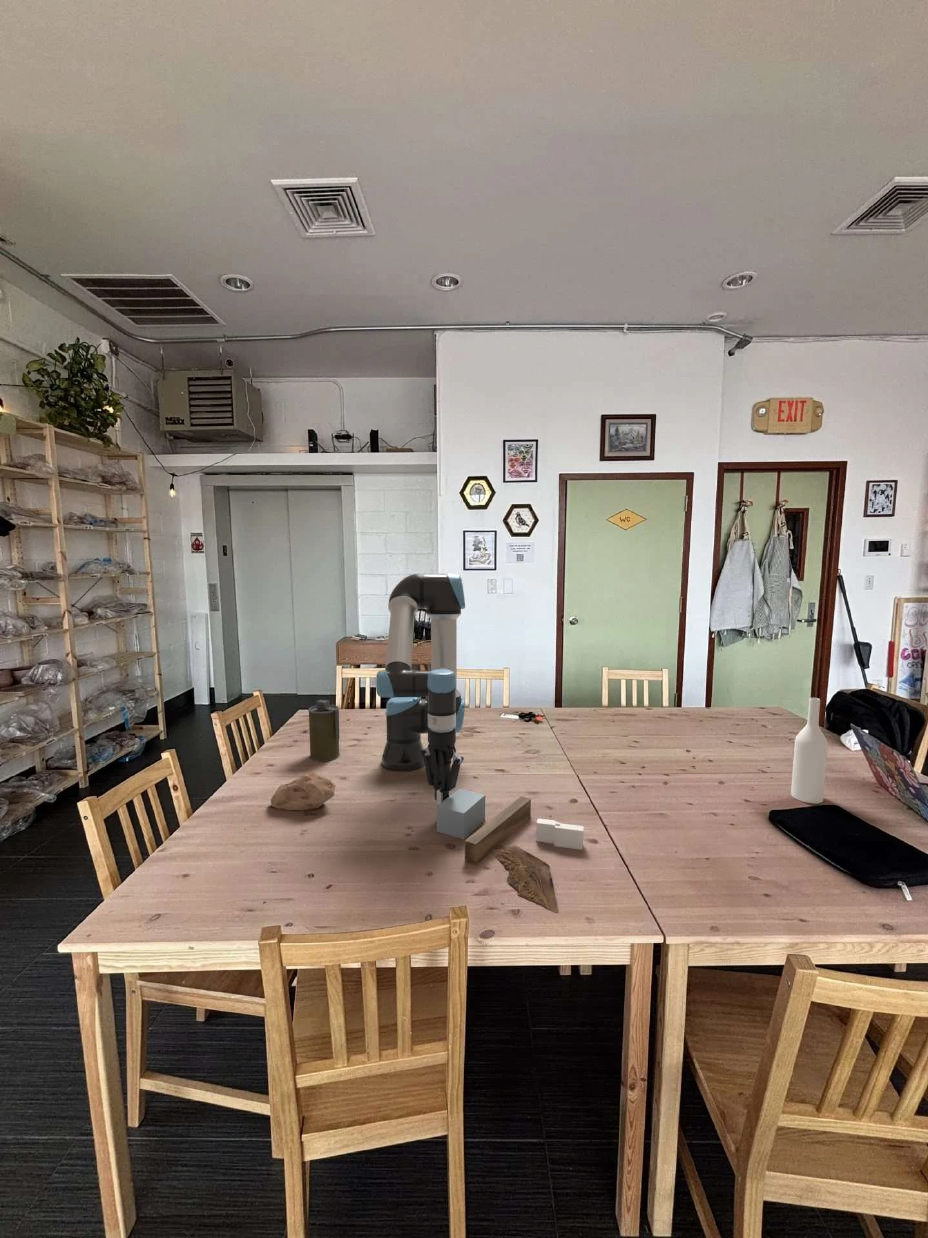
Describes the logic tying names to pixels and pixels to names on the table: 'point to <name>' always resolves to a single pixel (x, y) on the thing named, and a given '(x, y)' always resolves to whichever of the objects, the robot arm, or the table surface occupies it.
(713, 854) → the table surface
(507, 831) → the stop board
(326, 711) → the canister
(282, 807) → the rock
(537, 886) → the wooden fragment
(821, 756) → the bottle
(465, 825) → the block
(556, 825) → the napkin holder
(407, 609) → the robot arm
